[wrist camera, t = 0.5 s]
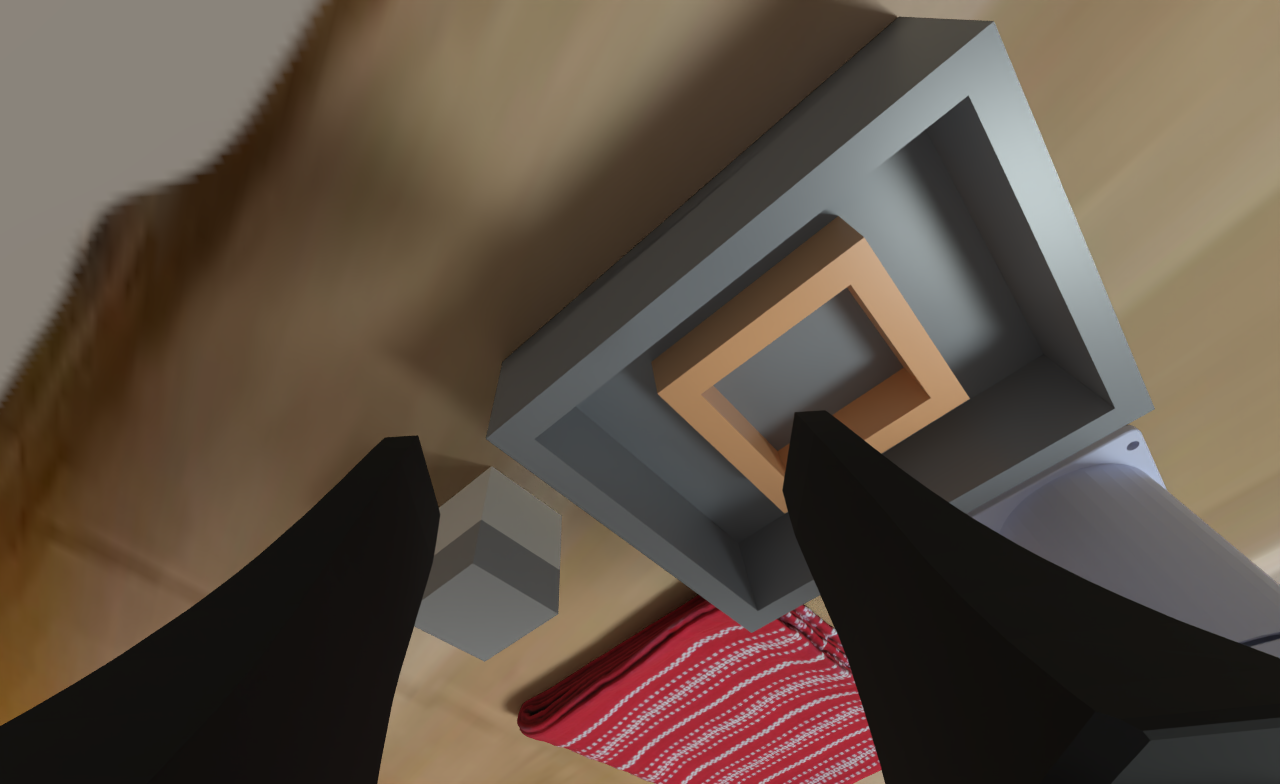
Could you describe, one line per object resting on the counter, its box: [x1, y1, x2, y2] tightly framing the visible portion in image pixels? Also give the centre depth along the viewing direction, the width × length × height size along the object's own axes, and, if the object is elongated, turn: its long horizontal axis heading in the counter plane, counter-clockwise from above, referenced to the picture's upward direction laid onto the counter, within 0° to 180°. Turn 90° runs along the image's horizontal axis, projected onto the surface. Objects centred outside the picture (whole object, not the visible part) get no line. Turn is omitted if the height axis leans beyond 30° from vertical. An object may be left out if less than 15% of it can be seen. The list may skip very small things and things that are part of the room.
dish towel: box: [517, 595, 882, 784], centre depth 36 cm, size 17×24×3 cm
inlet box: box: [486, 17, 1155, 633], centre depth 20 cm, size 14×16×4 cm
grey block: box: [414, 466, 562, 661], centre depth 23 cm, size 4×4×5 cm
